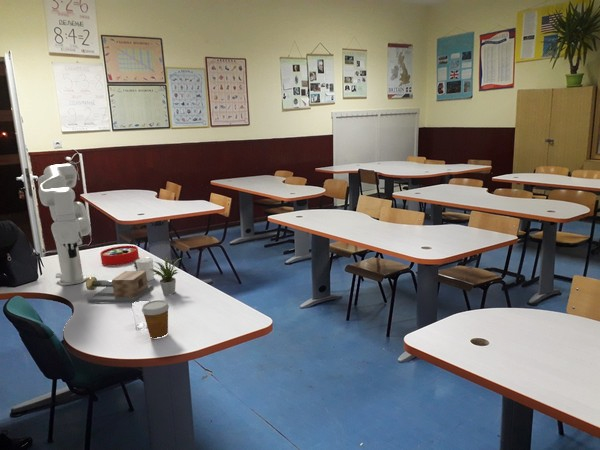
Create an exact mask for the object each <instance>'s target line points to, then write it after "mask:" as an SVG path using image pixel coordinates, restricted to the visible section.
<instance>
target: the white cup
mask: <svg viewBox="0 0 600 450" xmlns="http://www.w3.org/2000/svg"><path fill="white" fill-rule="evenodd" d="M153 261H154V259H153V258H152V257H142V258H139V259H138V260H136V264H137V269H138V270H137V269H136V270H137V271H146V277H147V282H149V281H152V280H154V279H155V275H153V274H155V272H154V271H152V270H150V269H154V266H153V265H154V262H153ZM154 270H155V269H154Z"/></svg>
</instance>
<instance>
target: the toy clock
mask: <svg viewBox="0 0 600 450" xmlns="http://www.w3.org/2000/svg"><path fill="white" fill-rule="evenodd" d="M135 259H140V255H139V248H138V247H137V246H135V245H121V246H119V245H118V246H113V247H110V248H106V249H104V250H102V251H101V252H100V261H101V264H102V265H104V266H110V267H111V266H113V265H114V266H120V265H121V266H122V265H123V266H124V265H127V264H131V263H134V260H135ZM114 266H113V267H114Z"/></svg>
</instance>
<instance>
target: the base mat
mask: <svg viewBox="0 0 600 450" xmlns="http://www.w3.org/2000/svg"><path fill="white" fill-rule="evenodd" d="M153 289H154V285H153V284H148V288H146V289H145V290H144V291H142V292H141V293H140V294H139V295H137V296H136V297H114V291H113V287H103V288H102V289H101V290H99V291H98V292H97V293H95V294H94V295H91V297H89V298H88V299H87V303H88V302H116V303H115V304H117V302H118V304H119V303H120V304H125V303H126V304H129V303H130V304H133V303H132V302H135V301H137V302H138V301H139V300H140V299H141V298H143V297H144V296H145V295H146V294H148V293H149V292H150V291H152V290H153ZM135 303H136V302H135Z"/></svg>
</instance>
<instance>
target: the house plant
mask: <svg viewBox="0 0 600 450" xmlns="http://www.w3.org/2000/svg"><path fill="white" fill-rule="evenodd" d="M181 259H182V257H181V258H178V259H176V260H174V261H173V260H168V257H166V258H165V259H164V264H163V263H162V262H160V261H159V260H157V261H154V260H153V263H156V264H157V265H158V266H159V267H158V266H156V265H154V264H153V267H156V268H157V269H158V270H157V269H150V270H152V271H154V274H153V275H154V276H155V275H158V277H161V279H160V280H159V283H160V287H161V290H162V294H163V296H164V295H165V296H171V295H174V294H175V293H176V285H177V284H176V281H177V279H176V278H175V277H173V276H174V275H177V274H178V273H180V272H177V271H178V269H175V267H176V266H177V264H178V261H180V260H181ZM168 262H169V263H168ZM172 262H173V264H172ZM171 265H172V266H171ZM173 293H174V294H173ZM170 294H171V295H170Z"/></svg>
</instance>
